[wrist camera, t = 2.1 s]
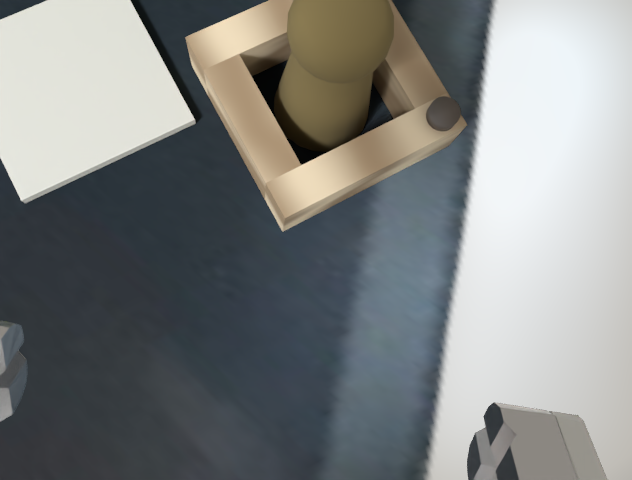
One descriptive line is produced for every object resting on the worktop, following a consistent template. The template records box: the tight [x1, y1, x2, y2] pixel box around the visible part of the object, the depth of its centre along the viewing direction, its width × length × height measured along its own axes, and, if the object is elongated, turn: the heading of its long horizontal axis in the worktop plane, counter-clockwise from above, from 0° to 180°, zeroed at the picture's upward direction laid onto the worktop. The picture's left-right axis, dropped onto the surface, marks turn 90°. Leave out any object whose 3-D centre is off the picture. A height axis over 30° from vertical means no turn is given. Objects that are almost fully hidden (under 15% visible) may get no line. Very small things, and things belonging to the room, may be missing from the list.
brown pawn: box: [274, 0, 394, 152], centre depth 33 cm, size 6×6×11 cm
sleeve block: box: [185, 0, 467, 231], centre depth 36 cm, size 12×12×4 cm
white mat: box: [0, 0, 196, 203], centre depth 37 cm, size 11×11×1 cm
